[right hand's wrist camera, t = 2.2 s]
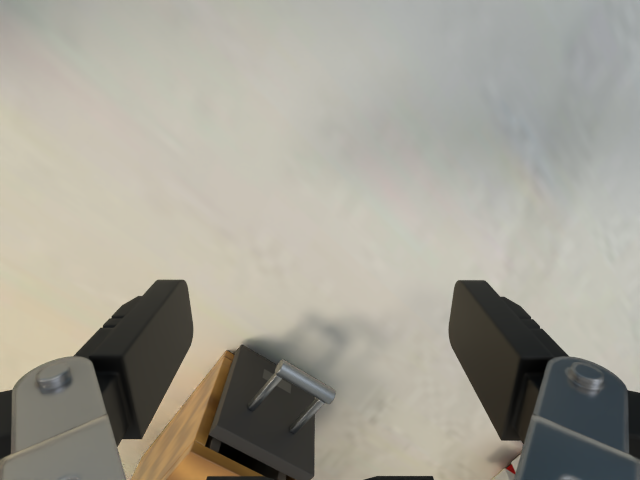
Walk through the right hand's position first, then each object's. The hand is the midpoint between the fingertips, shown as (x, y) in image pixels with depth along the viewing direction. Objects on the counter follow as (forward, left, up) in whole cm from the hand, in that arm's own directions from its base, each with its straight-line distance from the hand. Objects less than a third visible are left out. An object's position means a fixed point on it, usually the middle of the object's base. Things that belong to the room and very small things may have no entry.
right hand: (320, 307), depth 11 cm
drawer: (-15, -19, -20) cm, 32 cm away
